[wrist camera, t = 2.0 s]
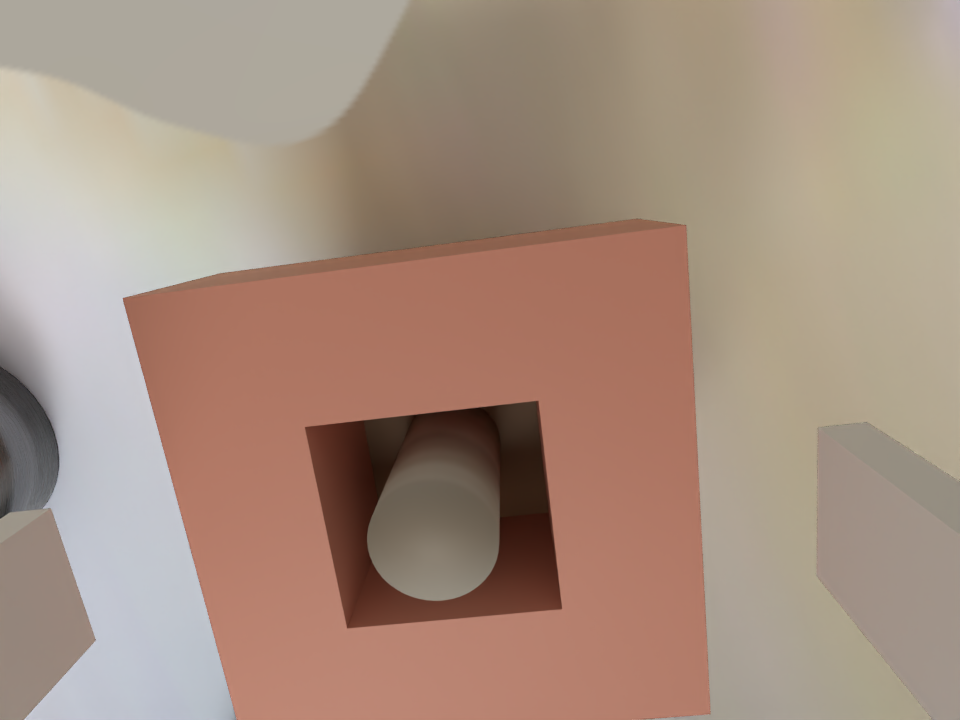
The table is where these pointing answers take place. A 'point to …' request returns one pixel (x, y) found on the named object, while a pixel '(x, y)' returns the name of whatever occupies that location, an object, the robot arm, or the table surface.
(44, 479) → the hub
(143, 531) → the table surface
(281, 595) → the salmon square frame
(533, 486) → the stand
